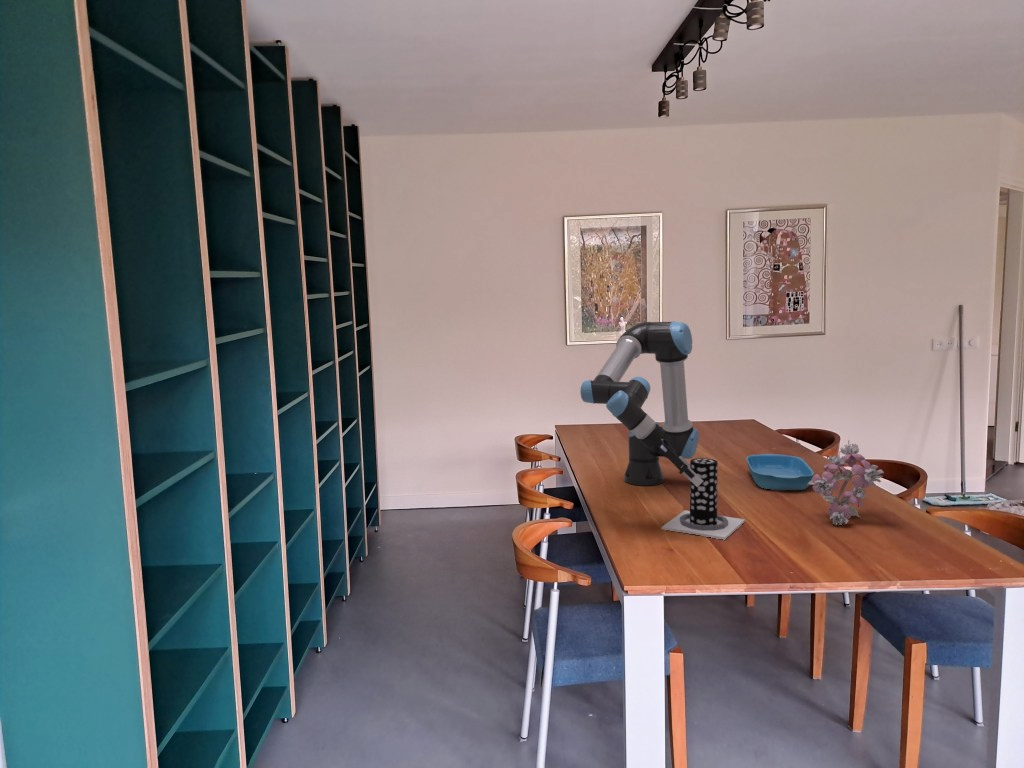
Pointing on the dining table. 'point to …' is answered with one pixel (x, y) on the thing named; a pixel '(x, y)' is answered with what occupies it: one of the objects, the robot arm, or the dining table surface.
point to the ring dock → (704, 526)
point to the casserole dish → (779, 471)
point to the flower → (845, 483)
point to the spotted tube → (704, 492)
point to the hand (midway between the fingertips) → (696, 478)
